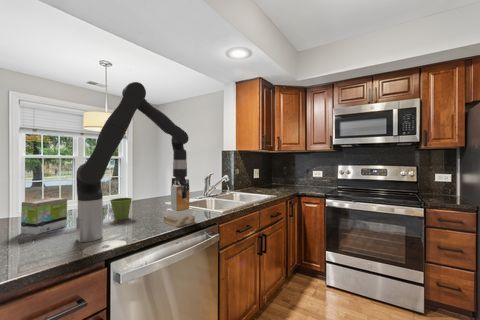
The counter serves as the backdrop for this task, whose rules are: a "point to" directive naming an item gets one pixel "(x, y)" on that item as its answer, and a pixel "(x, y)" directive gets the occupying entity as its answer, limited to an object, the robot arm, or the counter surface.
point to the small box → (179, 198)
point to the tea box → (43, 215)
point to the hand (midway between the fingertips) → (180, 197)
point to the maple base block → (179, 220)
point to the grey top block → (179, 213)
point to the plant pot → (121, 207)
